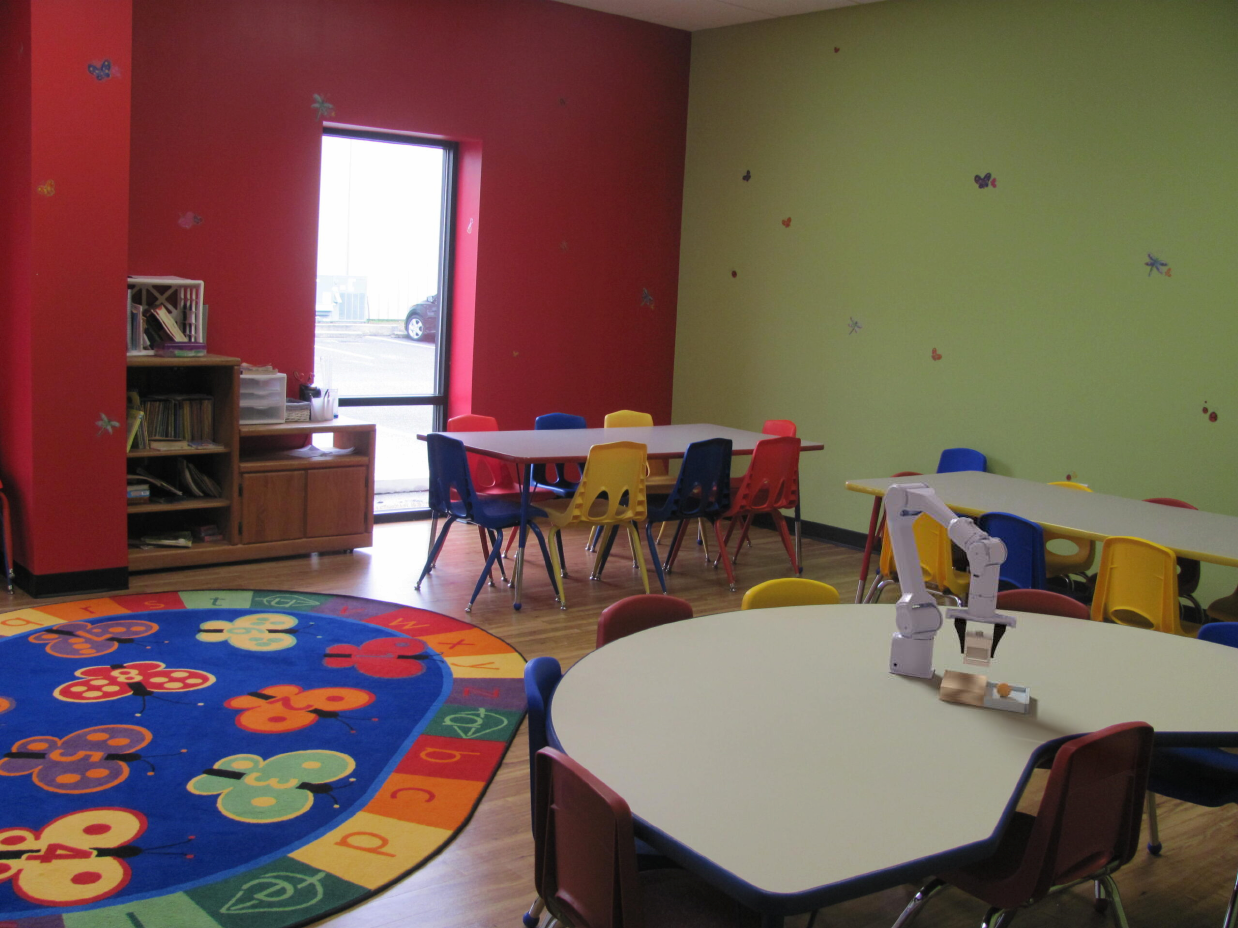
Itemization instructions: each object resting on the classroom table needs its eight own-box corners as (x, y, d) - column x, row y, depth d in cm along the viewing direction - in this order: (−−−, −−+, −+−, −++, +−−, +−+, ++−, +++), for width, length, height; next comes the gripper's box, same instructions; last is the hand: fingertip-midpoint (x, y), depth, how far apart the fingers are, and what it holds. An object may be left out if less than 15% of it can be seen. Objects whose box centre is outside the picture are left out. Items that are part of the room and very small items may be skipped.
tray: (983, 706, 231) (983, 697, 230) (986, 689, 242) (986, 680, 242) (1028, 713, 227) (1029, 704, 227) (1029, 695, 239) (1030, 687, 238)
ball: (997, 698, 234) (995, 684, 233) (996, 694, 236) (995, 680, 236) (1011, 698, 233) (1010, 684, 232) (1011, 694, 235) (1010, 680, 235)
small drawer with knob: (962, 663, 235) (965, 633, 234) (964, 656, 240) (967, 626, 239) (989, 667, 233) (992, 636, 232) (990, 660, 238) (993, 630, 237)
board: (939, 699, 234) (940, 685, 234) (944, 682, 245) (945, 669, 245) (983, 706, 231) (984, 692, 230) (986, 689, 242) (987, 676, 241)
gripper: (946, 593, 233) (941, 654, 235) (1018, 602, 228) (1012, 665, 230) (949, 586, 239) (943, 645, 241) (1019, 595, 234) (1012, 655, 236)
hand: (977, 654), depth 236 cm, fingers closed on small drawer with knob, 5 cm apart
